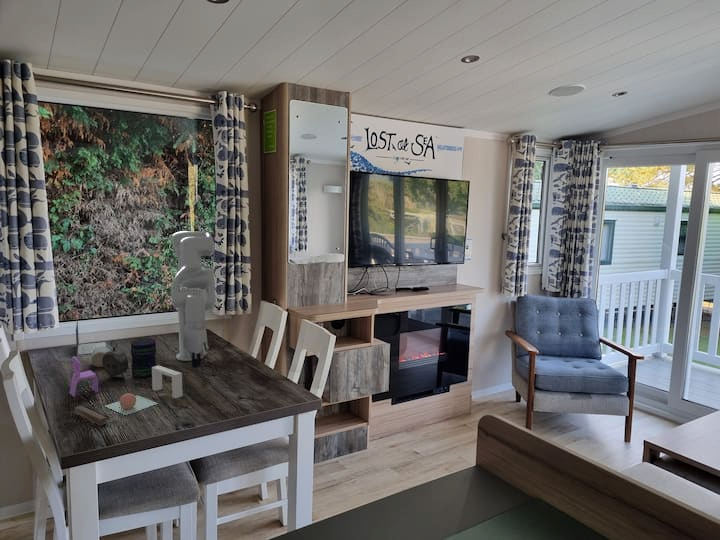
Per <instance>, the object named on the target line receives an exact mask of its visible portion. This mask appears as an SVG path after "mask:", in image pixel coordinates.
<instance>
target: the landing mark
mask: <svg viewBox="0 0 720 540" xmlns="http://www.w3.org/2000/svg"><path fill="white" fill-rule="evenodd" d="M134 396H135V397H136V404H135V406H134V407H132V408H130V409H124V408H122V409H121V406H120V400H119V401H116V402H113V403H109V404H106V405H104V406H105V408H106V407H107V409H109V410H111V409H112V410H111V411H113V410H114V411H113V412H115V411H116V412H115V413H118V412H119V413H118V414H120V413H121V414H120V415H122V414H123V415H122V416H124V415H126V416H129V415H131V414H135V413H137V412H139V411H143V410H146V409H147V408H150V406H151V407H154V406H156V405H159V403H158V402H155V401H154V400H150V399H148V398H146V397H143V396H140V395H138V394H137V395H134ZM153 405H154V406H153ZM119 407H120V408H119ZM123 409H124V410H123ZM142 409H143V410H142ZM128 414H129V415H128Z"/></svg>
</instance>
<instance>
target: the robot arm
mask: <svg viewBox="0 0 720 540" xmlns="http://www.w3.org/2000/svg"><path fill="white" fill-rule="evenodd" d="M171 243H172V247H173V250H174V252H175V254H176V258H177V262H178V265H177V266H178V272H177V273H176V274H175V275H174V277H173V279H172V281H171V285H170V287H171V303H172V306H173V307H175V308H176V309H177V315H178V316H177V317H178V343H179V352H178V353H177V354H176V355H175V358H176V359H177V360H178V361H182V362H190V361H191V368H194V369H196V368H199V367H201V360H202V359H203V358H204V357H205V356H206V355H207V354H206V352H207V351H208V349H209V345H208V334H207V333H208V332H207V329H206V312H210V311H213V310H214V309H215V306H216V285H215V284H216V283H215V274H214V271H213V270H212V269H211V268H206V267H205V268H203V264H202V256H205V257H206V256H208V257H210V256H213V255H214V253H215V242H214V238H213V236H212V234H211V233H210V232H209V231H193V230H189V231H187V230H185V231H177V232H175V233H173V234H172V237H171ZM179 286H180V287H181V288H182V289H179Z"/></svg>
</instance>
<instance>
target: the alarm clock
mask: <svg viewBox="0 0 720 540" xmlns="http://www.w3.org/2000/svg"><path fill="white" fill-rule="evenodd" d="M112 342H114V343H115V346H113V345H112ZM117 346H118V343H117V341H116V340H111V341H110V347H111V348H112V350H110V351H108V352H106V353H105V354H104V355H103V358H102V365H103V367H102V368H103V370H104V371H105V373H106V374H107V375H109V380H112V377H114V378H116V377H119V376H121V377H122V379H123V380H125V379H126V378H125V376H124V374H125V373H126V372H127V371H128V369H129V361H128V358H127V355H126V354H125V352H123V351H122V350H121V349H119V348H117Z"/></svg>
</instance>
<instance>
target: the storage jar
mask: <svg viewBox="0 0 720 540" xmlns="http://www.w3.org/2000/svg"><path fill="white" fill-rule="evenodd" d="M156 342H157V340H156V339H154V338H138V339H135V340H132V341H131V342H130V356H131V378H132V379H134V380H138V381H139V380H140V381H144V379H145V380H150V379H152V367H155V366H158V364H157V360H156V355H157V345H156V344H157V343H156Z"/></svg>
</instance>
